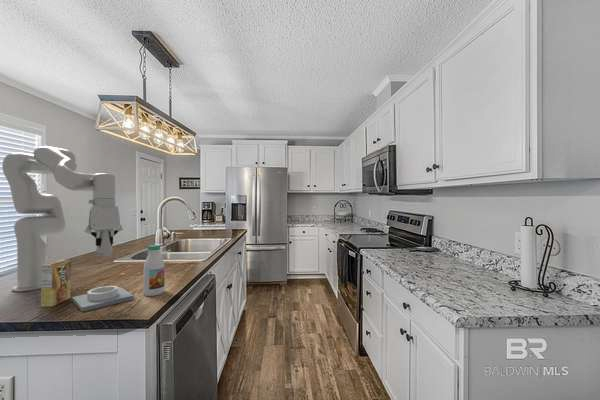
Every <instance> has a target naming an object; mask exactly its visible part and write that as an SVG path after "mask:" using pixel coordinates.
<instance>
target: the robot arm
mask: <svg viewBox="0 0 600 400" xmlns="http://www.w3.org/2000/svg"><path fill="white" fill-rule="evenodd" d="M76 161H77V158H76V155H75V154H74V153H73V152H72V151H70V150H68V149H66V148H65V149H64V148H60V147H54V146H48V145H44V146H38V147H36V148H35V149H33V154H32V153H26V152H13V153H9V154H7V155H6V156H5V157H4V159H3V160H2V171H3V175H4V177H5V179H6V181H7V183H8V184H9V188H10V193H11V198H12V202H13V207H14V209H15V211H16V212H17V213H18V214H20V215H21V214H22V215H32V216H25V217H21V218H19V219H17V220H16V221H15V223H14V225H13V230H14V234H15V239H16V248H17V249H16V250H17V252H16V255H17V256H16V258H17V259H16V260H17V261H16V262H17V263H16V265H17V267H16V272H17V274H16V276H17V277H16V278H17V279H16V285H14V286H12V288H11V291H13V292H28V291H36V290H40V289H41V281H42V265H44V264H48V245H47V243H46V242H45V240H43V237H44V238H45V237H51V236H59V235H61V234H62V233H63V232H65V229H66V220H65V215H64V212H63V206H62V203H61V200H60V199H59V197H58V196H57V195H55V194H50V193H40V192H39V189H38V185H37V183H36V181H35V180H34V179H33V178H32V177H31V176H30V175H29V174H28V173H30V174H40V175H53V178H54V180H55V181H56V183H58V184H59V185H60V186H62V187H64V188H65V189H68V190H70V191H75V192H76V191H77V192H92V193H93V194H92V199H90V200H88V204H91V205H92V206H91V207H90V210H89V218H88V225H87V226H86V228H85V230H84V232H85V234H89V235H91V236H93V237H94V238H95V246H96V247H97V246H98V245H99V248H100V247H101V242H102V239H101V238H100V232H101V231H102V230H110V231H109V233H110V243H111V246H112V247H113V245H114V237H115V235H117V234H118V233H119V232H121V231H123V230H124V228H123V227H122V225H121V217H120V210H119V206H118V205H116V177H115V175H114V174H112V173H105V172H103V173H102V172H100V173H99V172H98V173H85V172H78V171H77V172H76V170H77V163H76ZM33 215H34V216H33ZM37 215H38V216H37Z"/></svg>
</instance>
